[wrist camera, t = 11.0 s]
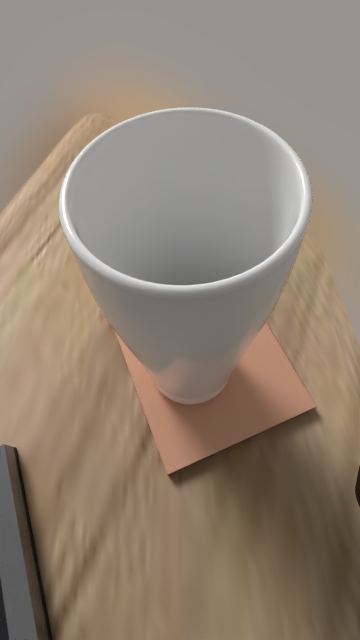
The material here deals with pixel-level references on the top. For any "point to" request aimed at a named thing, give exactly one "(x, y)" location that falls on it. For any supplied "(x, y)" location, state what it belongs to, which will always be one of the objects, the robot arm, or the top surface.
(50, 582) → the top surface
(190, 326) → the white cup
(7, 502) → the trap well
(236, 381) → the terracotta tile
